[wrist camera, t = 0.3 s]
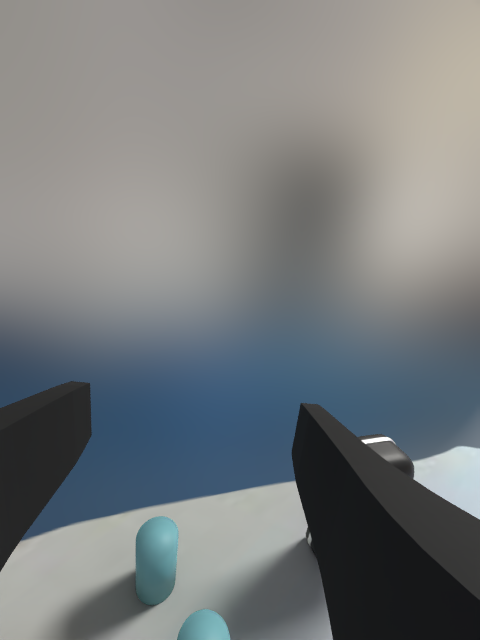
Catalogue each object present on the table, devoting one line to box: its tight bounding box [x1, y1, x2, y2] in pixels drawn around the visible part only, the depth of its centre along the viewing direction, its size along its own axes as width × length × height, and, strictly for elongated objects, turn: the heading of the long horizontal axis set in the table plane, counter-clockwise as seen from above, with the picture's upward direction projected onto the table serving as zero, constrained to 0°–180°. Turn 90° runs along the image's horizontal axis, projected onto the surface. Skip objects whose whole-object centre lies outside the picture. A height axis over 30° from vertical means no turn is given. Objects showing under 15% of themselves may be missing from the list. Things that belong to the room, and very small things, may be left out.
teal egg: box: [136, 516, 178, 605], centre depth 22 cm, size 3×3×5 cm
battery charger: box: [306, 434, 414, 554], centre depth 25 cm, size 7×4×11 cm, turn 108°
